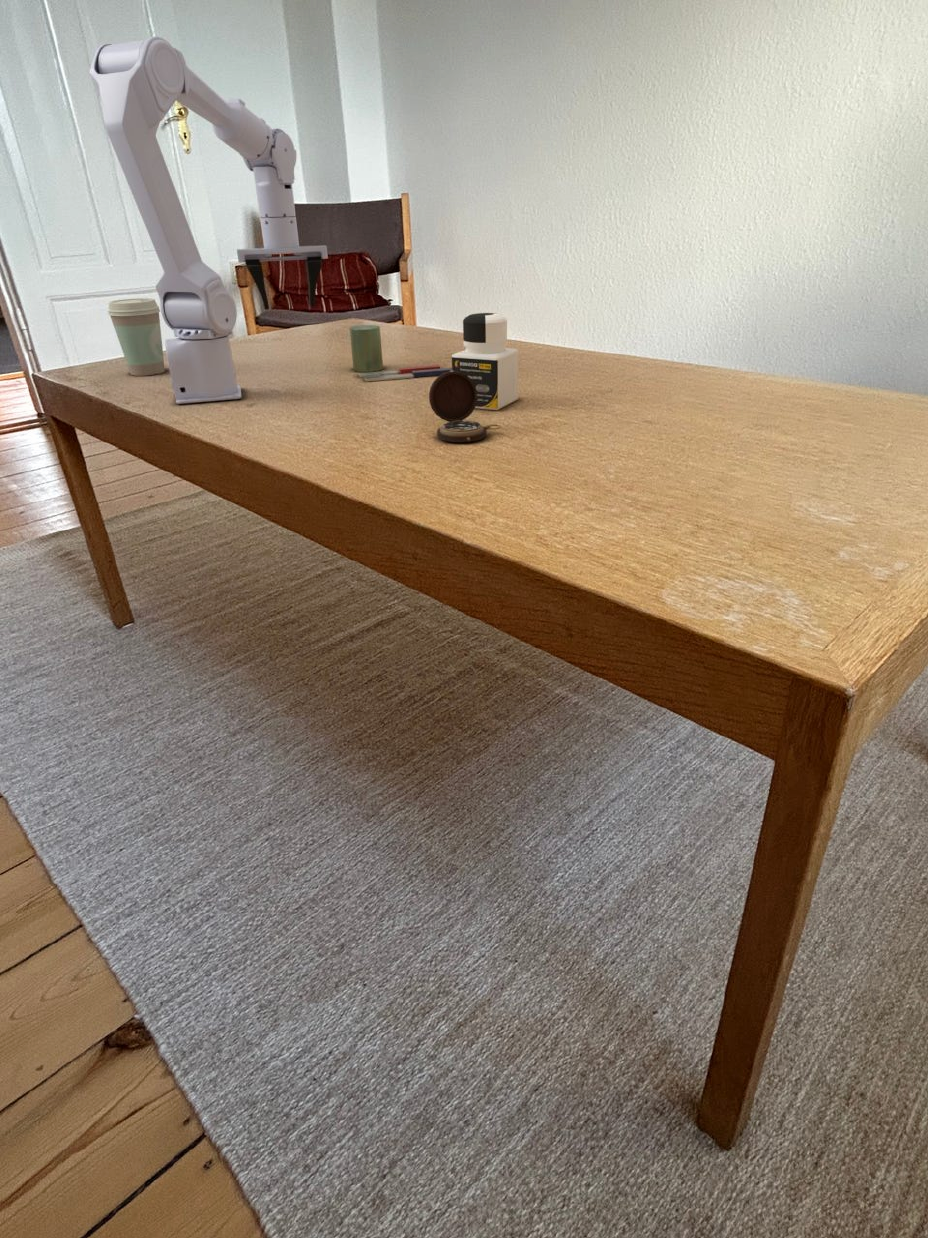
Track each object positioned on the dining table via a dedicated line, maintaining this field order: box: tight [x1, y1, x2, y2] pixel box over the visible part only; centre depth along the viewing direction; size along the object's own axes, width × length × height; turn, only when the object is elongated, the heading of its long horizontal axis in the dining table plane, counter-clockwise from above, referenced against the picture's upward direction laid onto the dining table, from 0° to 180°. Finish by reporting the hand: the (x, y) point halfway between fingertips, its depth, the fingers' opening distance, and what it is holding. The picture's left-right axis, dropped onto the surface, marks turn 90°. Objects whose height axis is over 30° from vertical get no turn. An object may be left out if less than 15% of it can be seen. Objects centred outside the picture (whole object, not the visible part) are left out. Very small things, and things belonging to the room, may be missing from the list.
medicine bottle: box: [451, 312, 519, 411], centre depth 105 cm, size 7×7×12 cm
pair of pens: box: [357, 364, 441, 379], centre depth 128 cm, size 14×2×1 cm, turn 105°
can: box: [349, 324, 384, 373], centre depth 131 cm, size 5×5×7 cm
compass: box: [428, 370, 501, 444], centre depth 92 cm, size 8×8×7 cm
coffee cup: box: [107, 297, 166, 377], centre depth 132 cm, size 8×8×12 cm
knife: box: [364, 367, 452, 383], centre depth 125 cm, size 15×2×1 cm, turn 105°
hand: (289, 307), depth 128 cm, fingers open, 7 cm apart
